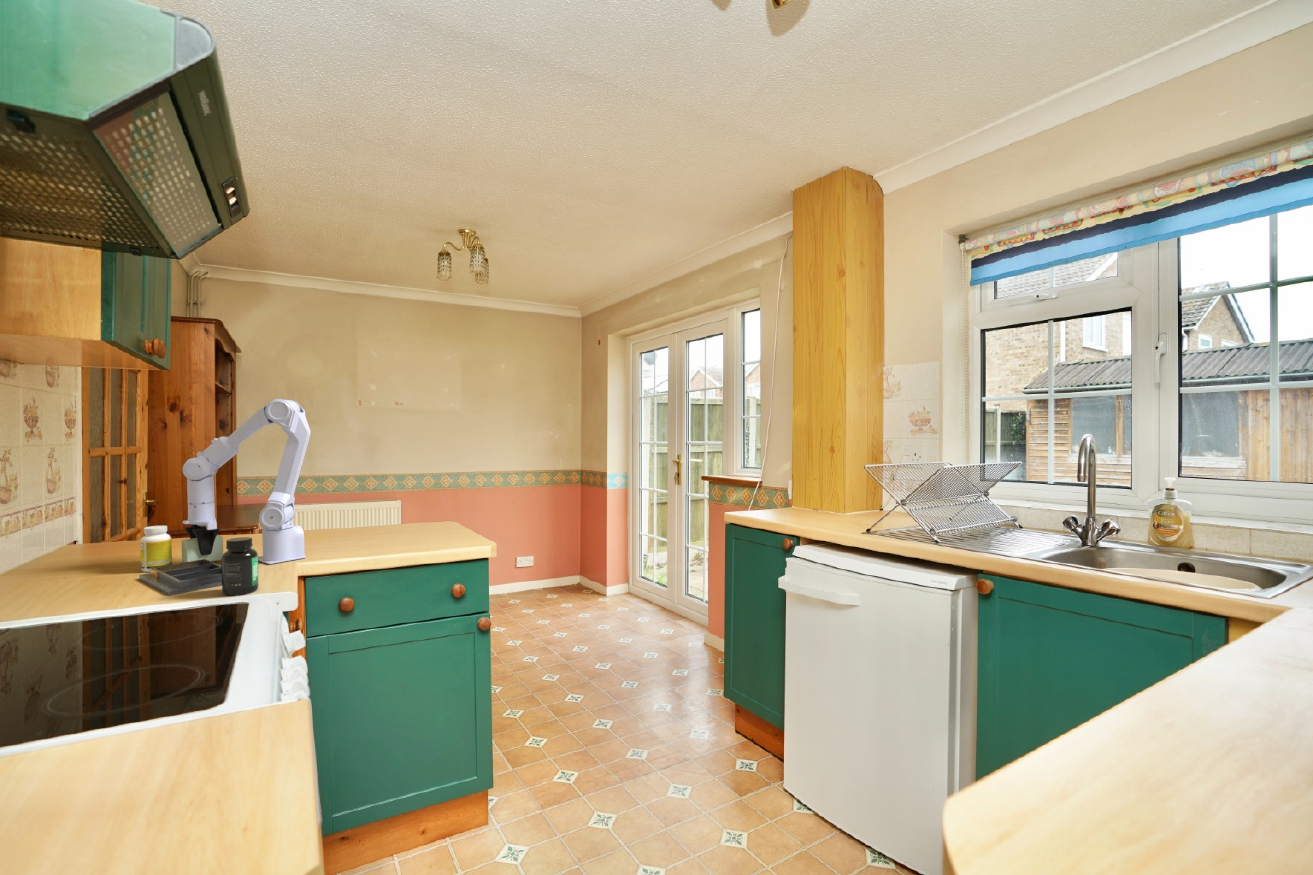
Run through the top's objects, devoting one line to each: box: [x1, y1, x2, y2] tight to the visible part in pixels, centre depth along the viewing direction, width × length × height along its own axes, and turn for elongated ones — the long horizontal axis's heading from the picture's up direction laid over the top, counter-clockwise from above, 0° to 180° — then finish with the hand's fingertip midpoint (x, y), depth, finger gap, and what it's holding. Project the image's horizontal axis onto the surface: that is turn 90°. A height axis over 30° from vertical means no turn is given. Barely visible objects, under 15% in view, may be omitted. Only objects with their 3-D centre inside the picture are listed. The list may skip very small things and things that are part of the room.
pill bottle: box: [139, 525, 173, 573], centre depth 156 cm, size 6×6×11 cm
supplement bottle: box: [220, 536, 259, 597], centre depth 137 cm, size 7×7×12 cm
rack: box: [138, 559, 222, 596], centre depth 147 cm, size 15×22×2 cm
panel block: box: [181, 534, 224, 563], centre depth 162 cm, size 8×4×6 cm, turn 144°
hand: (202, 553), depth 162 cm, fingers closed on panel block, 4 cm apart
